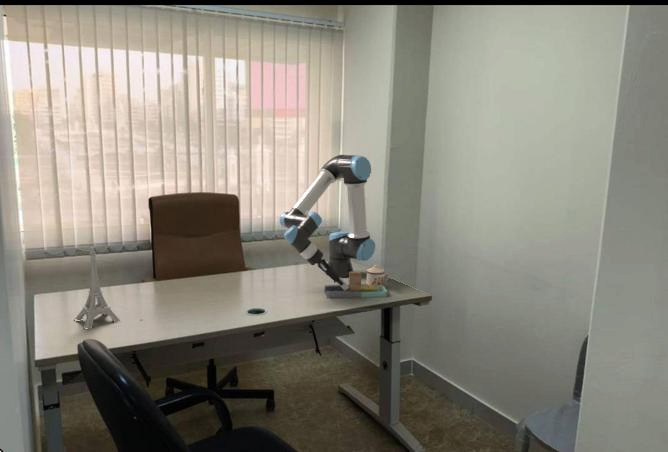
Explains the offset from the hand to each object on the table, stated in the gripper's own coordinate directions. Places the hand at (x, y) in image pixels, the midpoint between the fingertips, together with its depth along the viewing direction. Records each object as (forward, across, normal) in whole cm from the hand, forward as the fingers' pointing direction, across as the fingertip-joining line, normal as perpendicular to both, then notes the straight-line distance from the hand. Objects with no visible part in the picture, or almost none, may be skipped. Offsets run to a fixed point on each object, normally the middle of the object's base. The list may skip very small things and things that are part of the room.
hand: (347, 288), depth 232 cm
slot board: (+1, 0, -4) cm, 4 cm away
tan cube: (+8, 0, +4) cm, 9 cm away
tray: (+11, 0, +6) cm, 13 cm away
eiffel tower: (-70, +26, -76) cm, 106 cm away
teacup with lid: (+15, -12, +9) cm, 21 cm away
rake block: (+4, 0, +1) cm, 5 cm away
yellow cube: (+11, 0, +6) cm, 13 cm away
